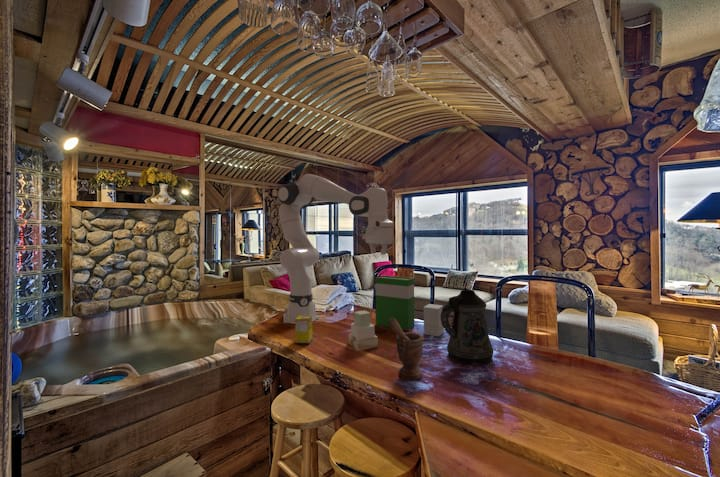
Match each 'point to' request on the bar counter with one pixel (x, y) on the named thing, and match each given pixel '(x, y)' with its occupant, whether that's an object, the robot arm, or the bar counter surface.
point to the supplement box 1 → (303, 329)
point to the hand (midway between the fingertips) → (378, 253)
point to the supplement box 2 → (433, 320)
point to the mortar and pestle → (408, 351)
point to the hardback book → (395, 301)
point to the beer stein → (467, 329)
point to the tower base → (363, 342)
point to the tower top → (362, 331)
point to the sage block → (362, 318)
